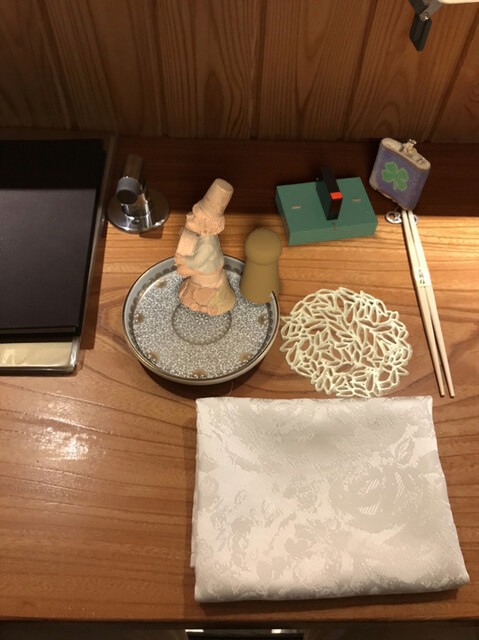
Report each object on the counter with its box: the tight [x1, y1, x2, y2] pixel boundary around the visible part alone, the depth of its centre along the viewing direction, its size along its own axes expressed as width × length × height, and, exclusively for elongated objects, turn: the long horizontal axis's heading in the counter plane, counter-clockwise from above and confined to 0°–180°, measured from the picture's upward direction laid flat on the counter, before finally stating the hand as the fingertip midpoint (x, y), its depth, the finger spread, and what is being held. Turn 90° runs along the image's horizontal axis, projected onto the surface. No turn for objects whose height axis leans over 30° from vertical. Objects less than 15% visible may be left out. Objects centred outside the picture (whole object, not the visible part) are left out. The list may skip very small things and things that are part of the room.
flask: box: [368, 137, 432, 211], centre depth 90 cm, size 9×3×11 cm, turn 44°
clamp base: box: [274, 176, 379, 247], centre depth 90 cm, size 14×11×3 cm
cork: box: [238, 227, 284, 305], centre depth 79 cm, size 6×6×11 cm
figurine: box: [172, 178, 237, 316], centre depth 74 cm, size 9×8×20 cm
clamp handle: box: [316, 165, 343, 221], centre depth 87 cm, size 7×2×5 cm, turn 10°
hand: (451, 41), depth 73 cm, fingers open, 9 cm apart
